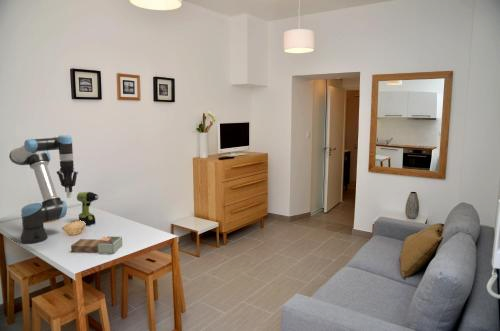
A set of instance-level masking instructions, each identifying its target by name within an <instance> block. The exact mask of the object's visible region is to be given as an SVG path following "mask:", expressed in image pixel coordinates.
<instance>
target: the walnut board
mask: <svg viewBox="0 0 500 331" xmlns="http://www.w3.org/2000/svg"><path fill="white" fill-rule="evenodd" d="M99 243H100V239H89V238H88V239H87V238H85V239H84V238H79V240H77V241H76V242H74V243H73V244H72V245H71V246H70V249H71V253H88V254H89V253H93V254H94V253H95V254H97V253H98V244H99ZM98 254H99V253H98Z"/></svg>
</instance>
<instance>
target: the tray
mask: <svg viewBox="0 0 500 331" xmlns="http://www.w3.org/2000/svg"><path fill="white" fill-rule="evenodd" d="M106 237H108V238H111V242H112V241H113V240H114V239H116V240H117V241H115V242H114V243H113V244H98V254H101V255H102V254H104V255H105V254H106V255H107V254H108V255H114V254H116V252H117V251H118V250H119V249H120V248H122V247H123V236H115V235H114V236H111V235H109V236H106Z"/></svg>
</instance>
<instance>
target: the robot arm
mask: <svg viewBox="0 0 500 331" xmlns="http://www.w3.org/2000/svg"><path fill="white" fill-rule="evenodd" d="M56 150H58V154H59V155H58V156H59V157H58V158H59V166H60V168H59V170H58V171H56V174H57V175H58V178H59V182H60V185H61V187H64V190H65V193H66V198H67V199H70V198H72V197H73V196H72V192H73V187H75V186H76V182H77V175H78V174H79V171H78V170H76V169H75V167H74V166H75V164H74V163H75V162H74V152H73V151H74V150H73V138H72V136H71V135H69V134H68V135H65V134H63V135H58V136H57V137H56V136H55V137H48V138H47V137H46V138H30V139H29V138H28V139H25V141H24V143H23V145H22V146H20V147H16V148H13V149H12V150H11V151H10V152H9V156H8V157H9V160H10V161H11V162H12V163H14V164H15V165H18V166H29V168H30V169H32V170H33V171H34V175H35V178H36V180H37V185H38V188H39V190H40V194H41V198H42V202H41V203H40V202H36V203H30V204H27V205H24V206H23V207H22V208H21V213H20V215H21V224H22V231H21V232H22V233H21V236H20V243H22V244H26V245H27V244H36V243H37V244H38V243H41V242H44V241H46V240H47V239H48V238H49V237H48V233H47V231H46V229H45V227H44V223H45V222H50V221H51V222H52V221H55V220H59V219H63V218H65V217H66V215H67V212H68V205H67V202H66V201H65V200H62V198H61V197H60V196H58V195H57V192H56V188H55V186H54V182H53V180H52V175H51V174H50V171H49V167H48V166H49V162H50V161H51V155H50V153H49V151H56Z"/></svg>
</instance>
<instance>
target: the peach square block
mask: <svg viewBox="0 0 500 331" xmlns="http://www.w3.org/2000/svg"><path fill="white" fill-rule="evenodd" d="M99 240H100V243H99V244H110V243H111V238H108V237H107V236H103V237H101V238H100V239H99Z"/></svg>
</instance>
